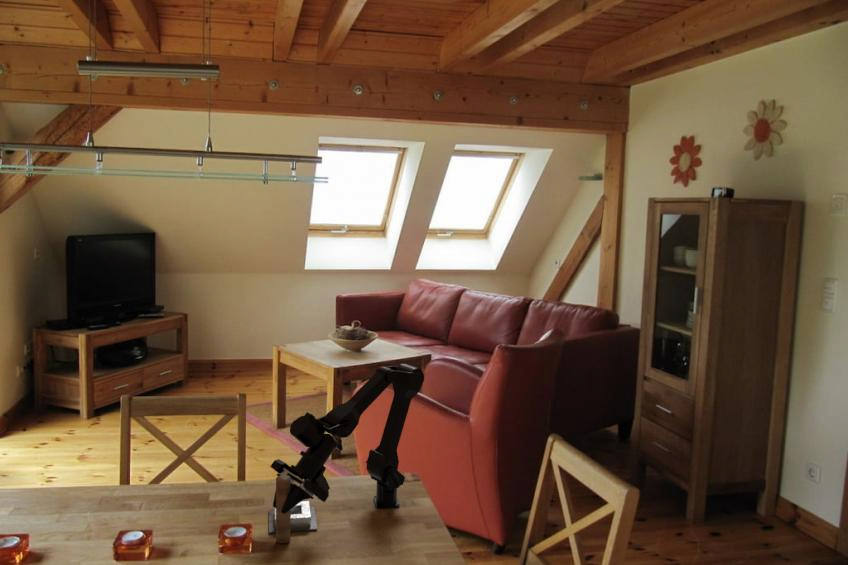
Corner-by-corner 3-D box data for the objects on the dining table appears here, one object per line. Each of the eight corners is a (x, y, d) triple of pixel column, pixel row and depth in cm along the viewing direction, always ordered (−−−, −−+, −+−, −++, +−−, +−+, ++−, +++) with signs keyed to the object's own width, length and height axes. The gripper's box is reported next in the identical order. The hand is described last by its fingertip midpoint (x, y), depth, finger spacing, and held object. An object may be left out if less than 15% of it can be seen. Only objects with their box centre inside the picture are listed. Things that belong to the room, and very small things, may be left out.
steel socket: (268, 511, 188) (268, 500, 188) (314, 508, 191) (314, 498, 190) (268, 534, 177) (268, 522, 176) (316, 530, 179) (317, 519, 179)
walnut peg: (275, 536, 175) (275, 475, 172) (290, 535, 175) (290, 474, 173) (275, 543, 171) (276, 481, 169) (290, 542, 172) (290, 481, 170)
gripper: (356, 483, 175) (319, 539, 169) (313, 459, 188) (278, 510, 183) (331, 461, 168) (291, 519, 163) (288, 438, 182) (250, 490, 176)
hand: (278, 510), depth 171 cm, fingers closed on walnut peg, 3 cm apart
